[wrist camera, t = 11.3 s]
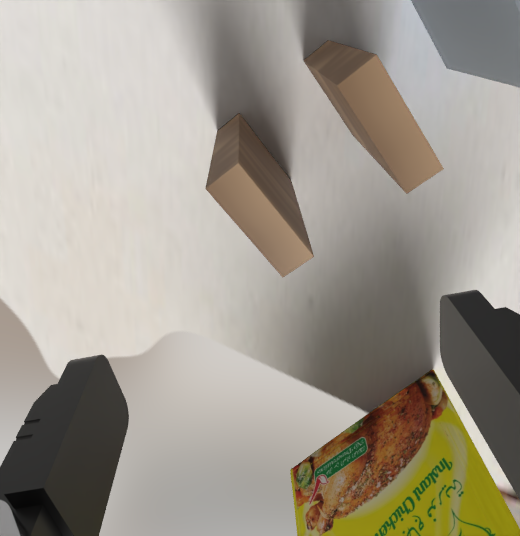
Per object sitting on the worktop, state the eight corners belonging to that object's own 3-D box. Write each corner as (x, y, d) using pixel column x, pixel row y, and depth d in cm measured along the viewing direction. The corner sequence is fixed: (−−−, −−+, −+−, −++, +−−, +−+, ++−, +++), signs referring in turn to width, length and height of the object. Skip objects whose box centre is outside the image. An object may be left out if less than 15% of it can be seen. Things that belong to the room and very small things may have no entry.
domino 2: (328, 40, 25) (376, 54, 16) (376, 117, 26) (443, 168, 18) (303, 60, 25) (336, 85, 16) (352, 135, 27) (406, 193, 18)
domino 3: (446, 68, 25) (555, 96, 17) (401, -18, 23) (498, -37, 15) (473, 48, 25) (599, 66, 16) (430, -41, 23) (547, -74, 14)
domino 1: (239, 113, 26) (238, 163, 17) (291, 180, 28) (314, 256, 19) (217, 130, 27) (205, 188, 18) (270, 196, 29) (282, 277, 20)
